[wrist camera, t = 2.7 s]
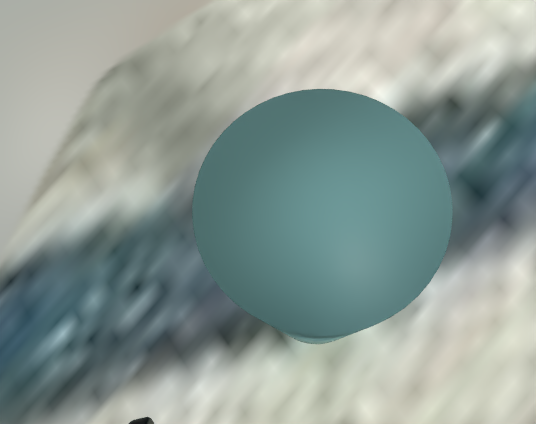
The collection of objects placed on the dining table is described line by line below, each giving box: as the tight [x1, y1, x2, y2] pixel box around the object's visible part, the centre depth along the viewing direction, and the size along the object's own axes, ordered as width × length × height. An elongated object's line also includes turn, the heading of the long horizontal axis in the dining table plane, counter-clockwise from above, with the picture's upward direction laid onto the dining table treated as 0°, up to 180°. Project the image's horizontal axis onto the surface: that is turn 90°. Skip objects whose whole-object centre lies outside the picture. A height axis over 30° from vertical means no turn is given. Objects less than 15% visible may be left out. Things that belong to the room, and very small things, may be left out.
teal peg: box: [192, 89, 452, 344], centre depth 14 cm, size 4×4×13 cm
